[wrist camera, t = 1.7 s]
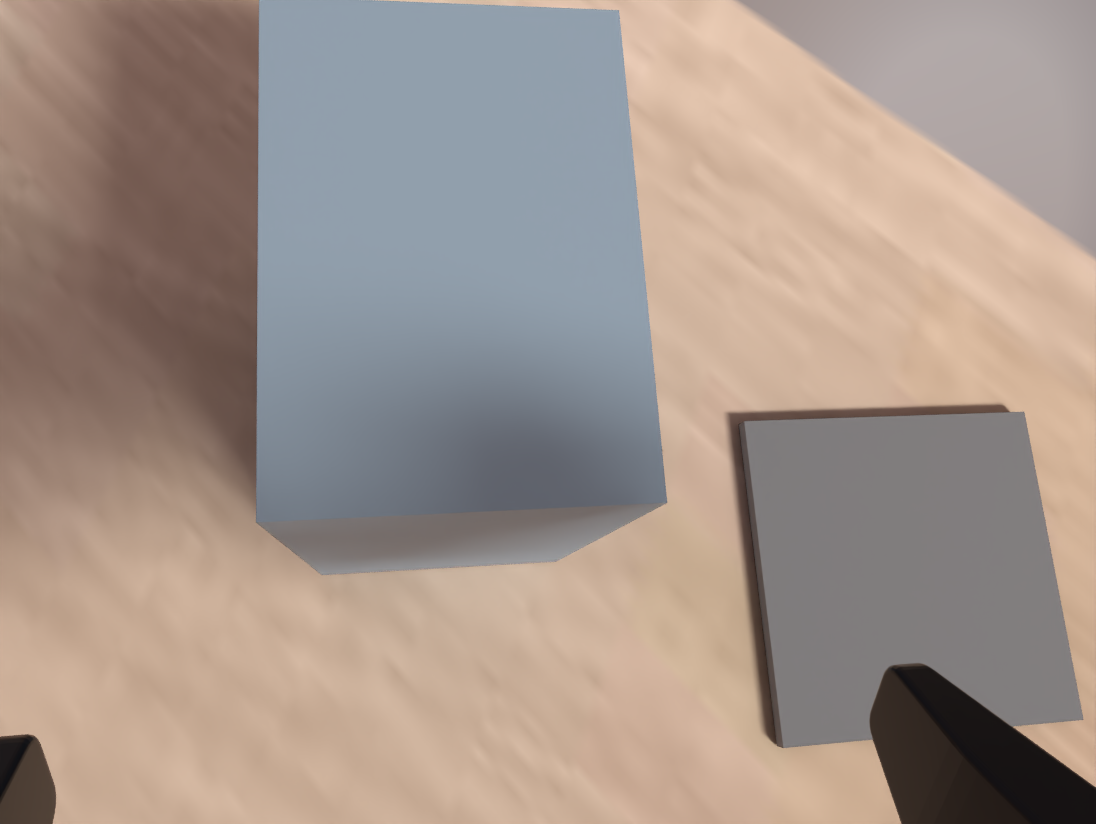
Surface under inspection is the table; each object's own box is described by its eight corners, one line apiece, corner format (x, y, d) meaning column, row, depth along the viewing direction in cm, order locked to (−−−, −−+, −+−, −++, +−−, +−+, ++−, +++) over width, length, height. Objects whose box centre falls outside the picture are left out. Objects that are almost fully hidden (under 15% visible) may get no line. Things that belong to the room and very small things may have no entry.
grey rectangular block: (555, 561, 23) (666, 503, 13) (321, 574, 22) (255, 522, 12) (535, 257, 24) (619, 10, 15) (318, 258, 24) (259, -5, 14)
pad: (1072, 718, 24) (1083, 719, 23) (776, 746, 22) (783, 747, 22) (1014, 415, 26) (1024, 412, 25) (738, 424, 24) (744, 421, 24)
